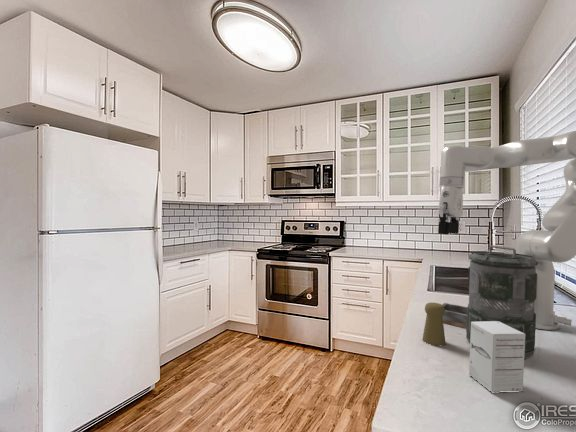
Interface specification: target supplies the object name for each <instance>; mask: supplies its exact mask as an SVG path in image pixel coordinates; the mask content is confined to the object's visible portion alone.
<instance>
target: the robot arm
mask: <svg viewBox="0 0 576 432" xmlns="http://www.w3.org/2000/svg"><path fill="white" fill-rule="evenodd" d="M440 154H441V155H440V171H439V172H440V173H439V184H438V185H439V186H438V188H439V189H440V194H439V203H438V228H437V233H438V234H439V235H449V234H455V235H458V234H459V231H460V230H459V229H460V218H461V217H462V216H463V209H464V207H463V206H464V203H463V202H464V201H463V200H464V197H463V189H464V188H465V179H466V177H465V176H466V173H468V172H477V171H486V170H493V169H502V168H503V169H504V168H505V169H506V168H515V167H523V166H530V165H531V166H533V165H539V164H540V165H541V164H547V163H556V162H563V161H567V160H569V161H568V162H567V163H566V164H565V165H564V168H563V176H564V180H565V185H566V188H565V190H564V193H563V194H562V195H561V196H560V198H559V199H558V200H556V202H555V203H554V204H553V205H552V206H551V207H550V208H549V209H548V210H547V211H546V212H545V214H544V215H543V217H542V221H541V224H542V227H543V228H544V229H545V230H542V229H530V230H526V231H523V232H522V233H521V234H520V235H519V236H518V237H517V240H516V253H517V254H523V255H528V256H532V257H533V258H534V259H535V260H536V261H537V262H538V265H537V266H535V267H536V273H537V296H536V300H535V302H534V313H535V314H536V329H539V330H546V331H547V330H548V331H550V330H551V331H554V330H559V328H560V325H561V324H562V325H564V326H565V325H566V326H571V327H572V319H570V318H567V317H565V316H564V317H563V316H558V315H557V314H556V311H554V306H555V305H554V303H555V280H556V274H555V273H556V272H555V271H556V270H555V267H554V263H559V264H560V263H567V262H569V261H570V260H572V259H573V258H575V257H576V130H574V131H569V132H565V133H562V134H558V135H554V136H546V137H538V138H530V139H521V140H516V141H511V142H508V143H505V144H501V145H498V146H493V147H490V146H488V145H487V146H486V145H474V146H473V145H472V146H460V145H451V146H450V145H449V146H446V147H444V148H443V149H442V150H441V153H440Z"/></svg>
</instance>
